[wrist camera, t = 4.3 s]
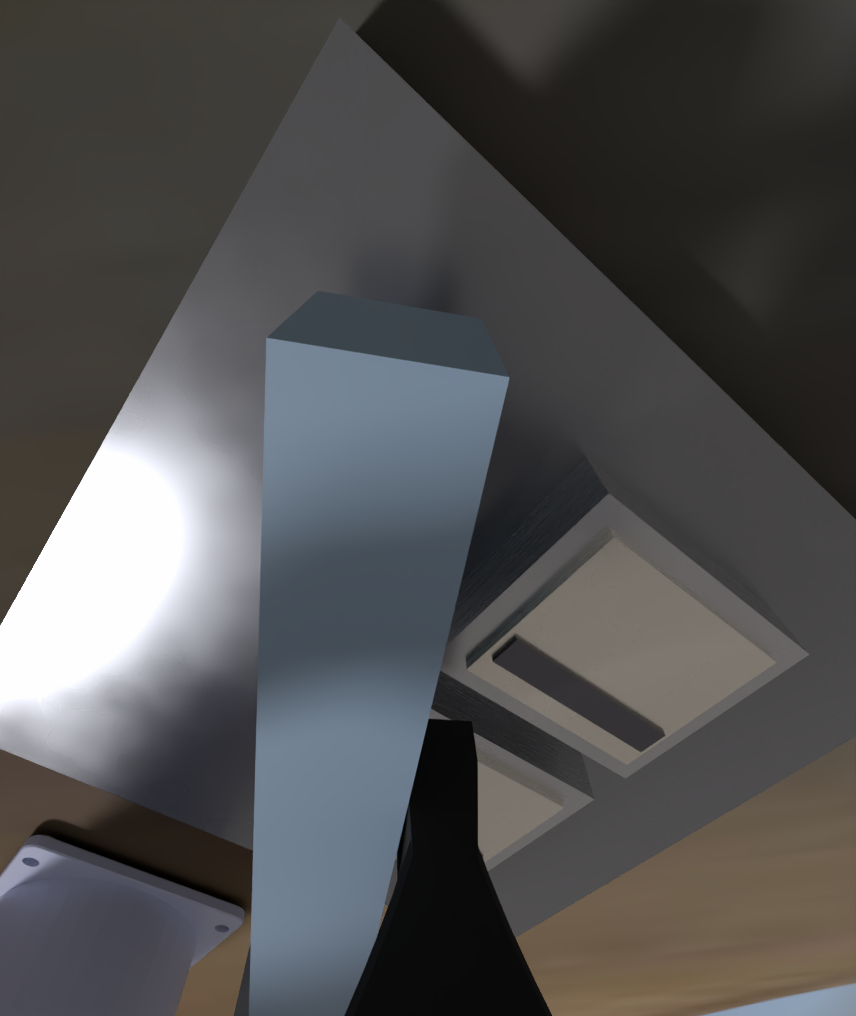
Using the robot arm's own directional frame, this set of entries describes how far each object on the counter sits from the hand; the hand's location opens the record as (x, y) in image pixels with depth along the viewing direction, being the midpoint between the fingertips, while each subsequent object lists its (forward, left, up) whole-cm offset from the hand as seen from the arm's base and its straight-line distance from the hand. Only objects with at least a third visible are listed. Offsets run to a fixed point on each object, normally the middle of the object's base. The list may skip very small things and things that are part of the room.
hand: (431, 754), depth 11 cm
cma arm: (-2, +1, -1) cm, 2 cm away
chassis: (-1, -1, -4) cm, 5 cm away
